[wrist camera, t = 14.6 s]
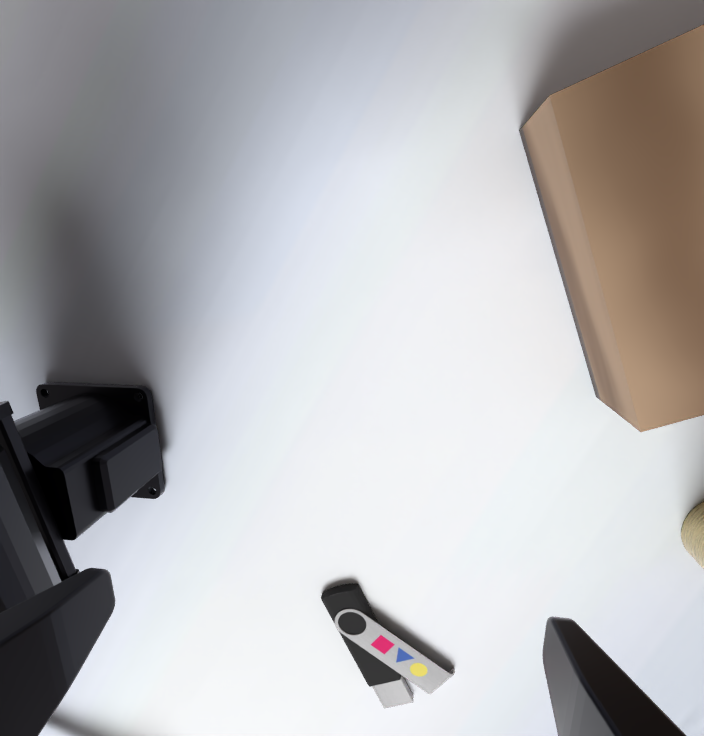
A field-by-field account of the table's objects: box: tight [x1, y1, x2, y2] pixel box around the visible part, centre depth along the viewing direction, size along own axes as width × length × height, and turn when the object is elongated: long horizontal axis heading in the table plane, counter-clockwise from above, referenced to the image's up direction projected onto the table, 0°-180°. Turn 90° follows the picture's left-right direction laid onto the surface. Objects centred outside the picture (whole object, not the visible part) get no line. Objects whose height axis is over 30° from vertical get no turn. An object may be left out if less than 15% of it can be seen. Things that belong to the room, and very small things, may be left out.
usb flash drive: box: [321, 584, 455, 708], centre depth 25 cm, size 9×5×1 cm, turn 25°
